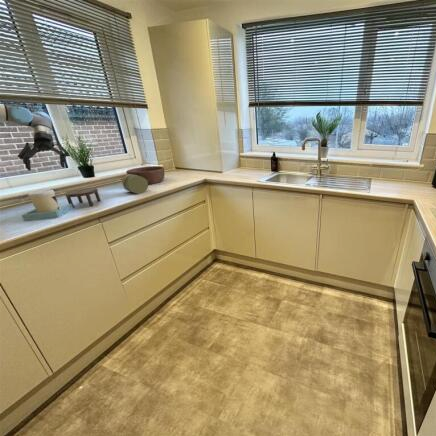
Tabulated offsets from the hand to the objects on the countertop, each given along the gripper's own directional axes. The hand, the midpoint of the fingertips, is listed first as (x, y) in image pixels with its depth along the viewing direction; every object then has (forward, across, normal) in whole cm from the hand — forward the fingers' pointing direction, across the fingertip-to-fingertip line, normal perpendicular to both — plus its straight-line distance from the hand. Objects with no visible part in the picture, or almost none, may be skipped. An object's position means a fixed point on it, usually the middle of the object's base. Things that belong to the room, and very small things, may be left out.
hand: (45, 167), depth 126 cm
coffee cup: (+26, +1, -5) cm, 26 cm away
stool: (+19, -12, -12) cm, 25 cm away
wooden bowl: (-11, -44, -42) cm, 62 cm away
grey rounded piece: (+9, -36, -22) cm, 43 cm away
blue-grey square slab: (+26, +1, -5) cm, 26 cm away
